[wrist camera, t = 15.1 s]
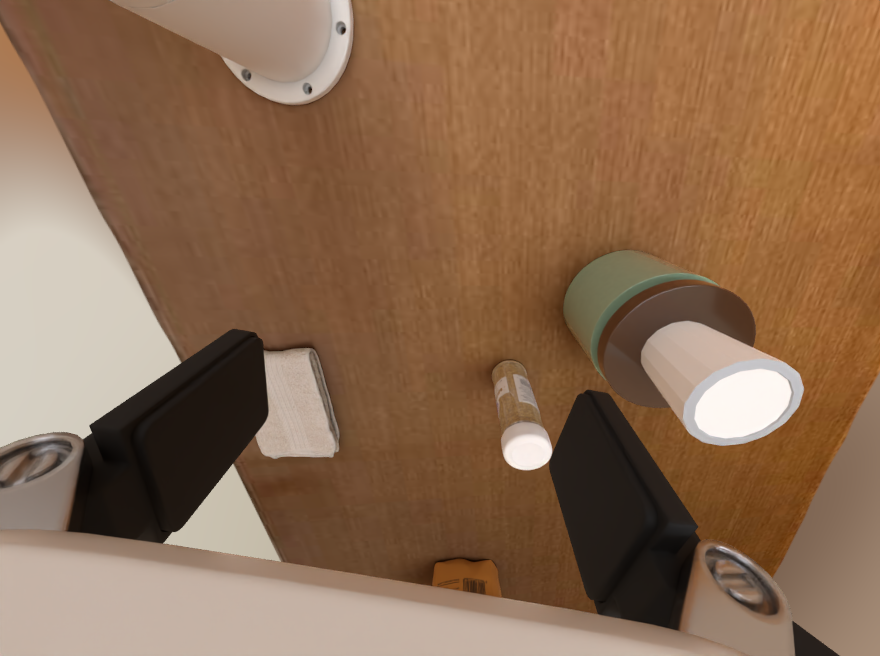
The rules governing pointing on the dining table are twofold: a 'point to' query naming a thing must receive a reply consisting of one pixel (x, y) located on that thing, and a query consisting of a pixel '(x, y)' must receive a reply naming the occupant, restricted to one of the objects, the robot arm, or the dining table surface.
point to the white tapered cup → (720, 383)
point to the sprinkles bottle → (519, 418)
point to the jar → (644, 315)
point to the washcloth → (297, 407)
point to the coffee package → (468, 576)
